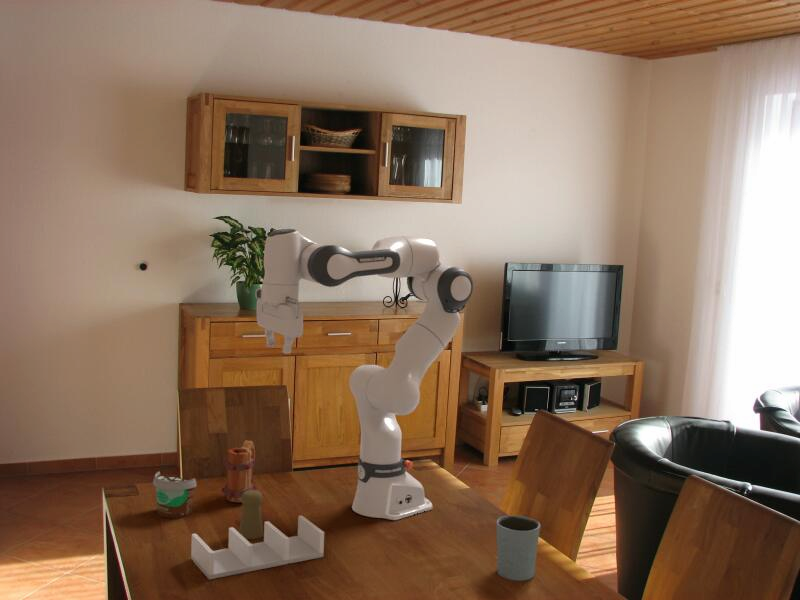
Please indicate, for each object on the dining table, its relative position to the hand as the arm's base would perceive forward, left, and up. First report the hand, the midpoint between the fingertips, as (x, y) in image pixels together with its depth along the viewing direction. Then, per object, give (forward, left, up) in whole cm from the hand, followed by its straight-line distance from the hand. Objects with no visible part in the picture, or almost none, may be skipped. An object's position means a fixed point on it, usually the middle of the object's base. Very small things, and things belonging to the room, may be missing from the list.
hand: (278, 349), depth 218 cm
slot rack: (+11, +16, -46) cm, 50 cm away
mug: (-1, -24, -46) cm, 52 cm away
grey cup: (-39, +49, -46) cm, 78 cm away
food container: (+21, -19, -46) cm, 54 cm away
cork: (+7, +2, -46) cm, 47 cm away
